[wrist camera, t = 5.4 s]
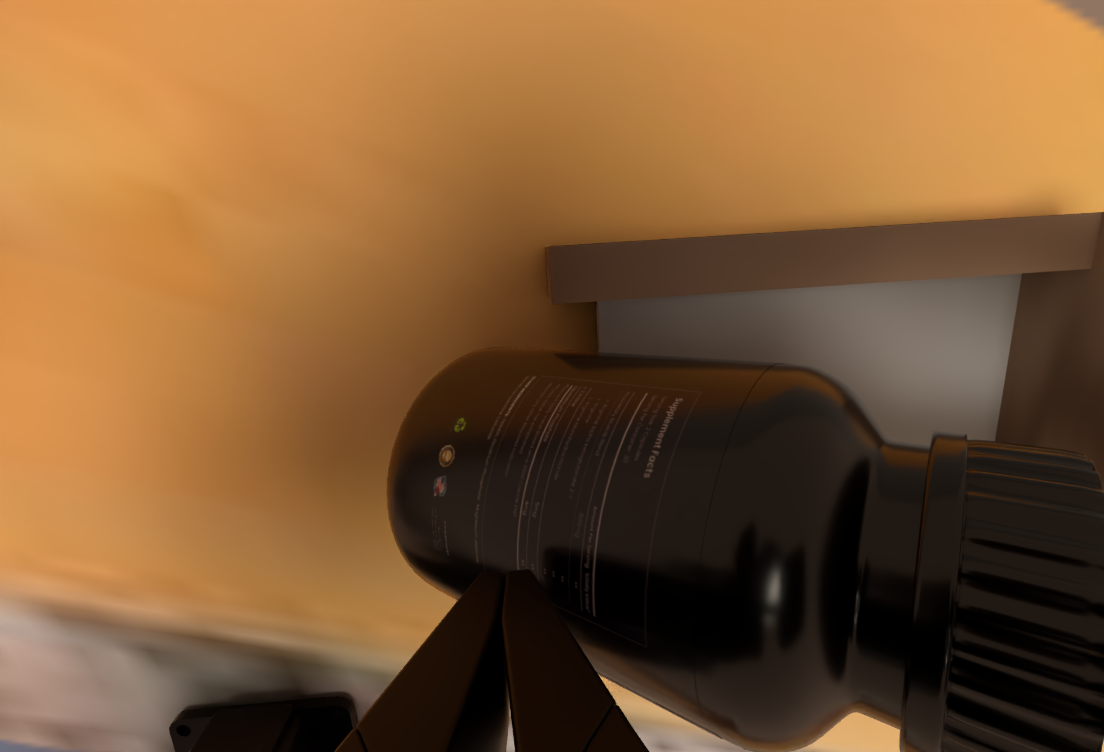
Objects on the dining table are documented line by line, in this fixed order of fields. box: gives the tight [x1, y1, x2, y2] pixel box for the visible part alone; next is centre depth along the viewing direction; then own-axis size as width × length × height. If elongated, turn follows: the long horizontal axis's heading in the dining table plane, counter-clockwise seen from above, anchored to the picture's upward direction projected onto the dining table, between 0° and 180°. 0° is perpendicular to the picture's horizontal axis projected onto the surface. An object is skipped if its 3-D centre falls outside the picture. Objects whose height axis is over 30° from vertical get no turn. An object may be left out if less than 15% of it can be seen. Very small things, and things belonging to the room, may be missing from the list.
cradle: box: [545, 212, 1104, 491], centre depth 15 cm, size 12×16×4 cm
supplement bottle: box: [387, 347, 1104, 752], centre depth 11 cm, size 7×7×12 cm
